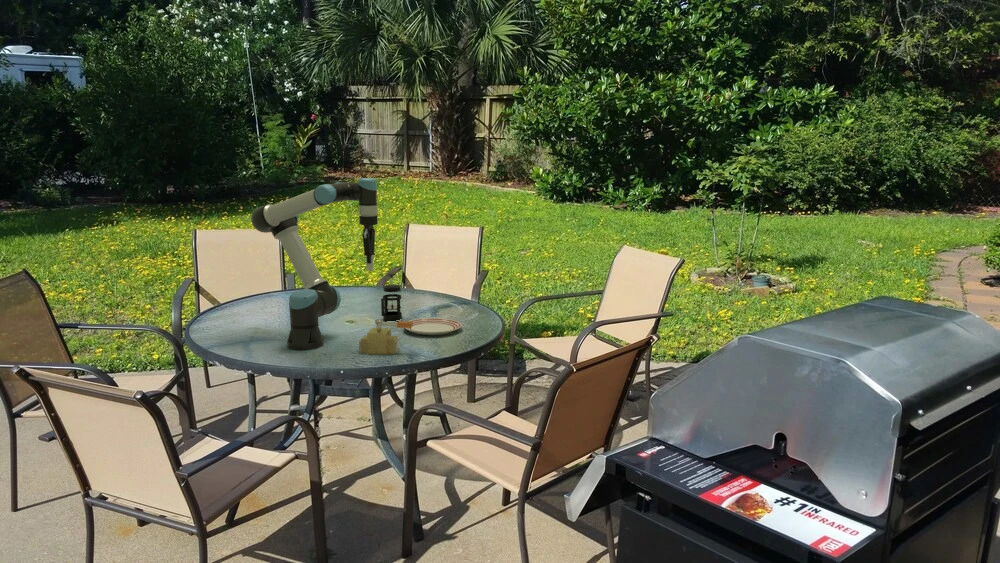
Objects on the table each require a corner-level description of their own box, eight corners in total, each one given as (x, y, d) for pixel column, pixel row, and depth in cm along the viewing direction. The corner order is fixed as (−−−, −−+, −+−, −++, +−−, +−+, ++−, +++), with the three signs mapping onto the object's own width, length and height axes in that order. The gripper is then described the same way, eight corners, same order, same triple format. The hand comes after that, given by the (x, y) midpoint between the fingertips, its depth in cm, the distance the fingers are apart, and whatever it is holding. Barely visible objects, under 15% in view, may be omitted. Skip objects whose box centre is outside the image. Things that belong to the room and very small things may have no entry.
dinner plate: (432, 320, 362) (431, 313, 361) (473, 329, 345) (473, 323, 344) (390, 331, 341) (390, 324, 340) (432, 342, 324) (432, 335, 323)
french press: (394, 316, 369) (393, 271, 364) (407, 319, 363) (406, 273, 358) (376, 320, 360) (375, 274, 355) (389, 323, 354) (388, 276, 350)
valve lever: (376, 328, 309) (376, 319, 308) (413, 329, 308) (412, 320, 307) (374, 330, 306) (374, 321, 305) (411, 331, 305) (411, 322, 304)
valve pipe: (358, 353, 306) (357, 332, 304) (363, 348, 314) (362, 327, 312) (396, 354, 304) (395, 333, 303) (400, 349, 312) (400, 328, 311)
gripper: (363, 213, 316) (365, 267, 321) (355, 216, 303) (357, 273, 308) (380, 213, 315) (382, 268, 320) (373, 217, 303) (374, 273, 307)
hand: (370, 270), depth 314 cm, fingers closed
